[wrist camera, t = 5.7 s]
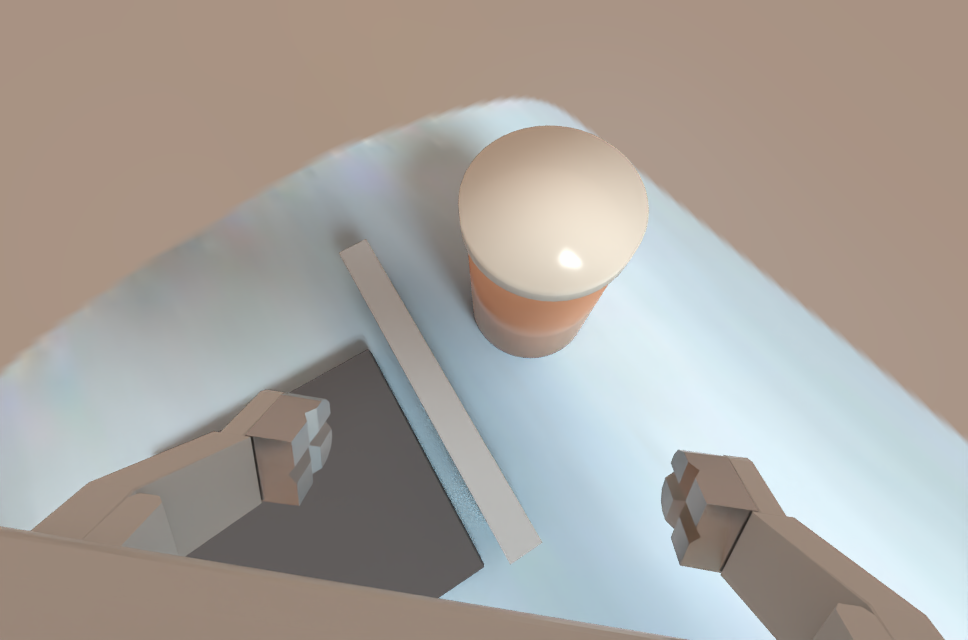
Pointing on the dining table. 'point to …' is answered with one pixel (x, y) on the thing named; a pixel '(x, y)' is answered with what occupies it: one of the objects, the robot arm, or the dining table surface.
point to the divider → (442, 405)
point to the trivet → (359, 502)
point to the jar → (546, 233)
